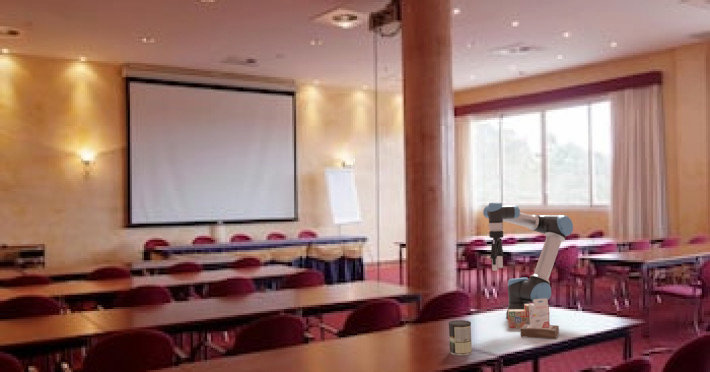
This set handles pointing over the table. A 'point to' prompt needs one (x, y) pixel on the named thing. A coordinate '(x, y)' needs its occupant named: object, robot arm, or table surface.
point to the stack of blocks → (519, 317)
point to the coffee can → (460, 337)
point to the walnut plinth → (540, 331)
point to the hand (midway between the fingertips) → (497, 269)
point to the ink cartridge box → (539, 313)
